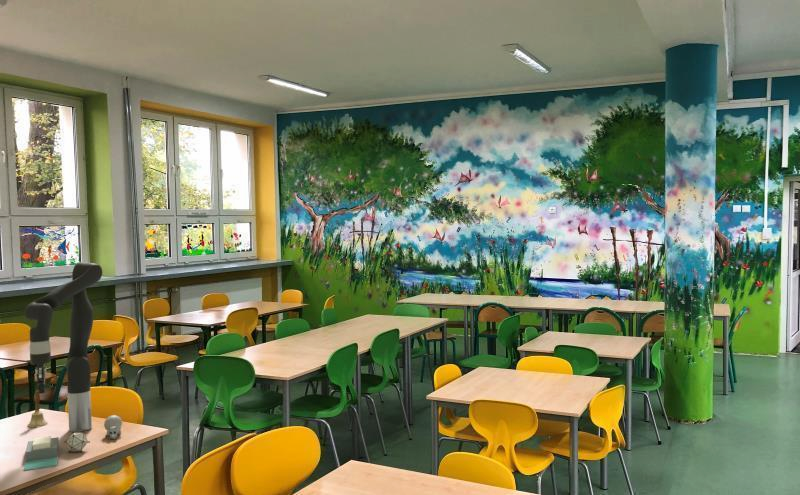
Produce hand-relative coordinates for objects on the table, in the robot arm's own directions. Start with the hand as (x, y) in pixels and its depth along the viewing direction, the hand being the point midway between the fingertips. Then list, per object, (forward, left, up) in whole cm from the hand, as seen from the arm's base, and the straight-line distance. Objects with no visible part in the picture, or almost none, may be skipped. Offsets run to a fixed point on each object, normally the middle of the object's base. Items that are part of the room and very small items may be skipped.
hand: (41, 393), depth 271 cm
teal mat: (0, +21, -23) cm, 31 cm away
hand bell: (+4, -37, -23) cm, 44 cm away
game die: (-13, +12, -23) cm, 29 cm away
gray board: (0, +9, -23) cm, 25 cm away
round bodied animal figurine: (-27, -2, -23) cm, 35 cm away
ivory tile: (0, +10, -19) cm, 21 cm away
